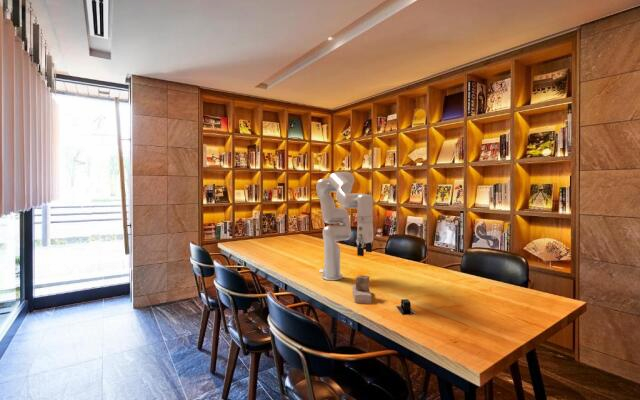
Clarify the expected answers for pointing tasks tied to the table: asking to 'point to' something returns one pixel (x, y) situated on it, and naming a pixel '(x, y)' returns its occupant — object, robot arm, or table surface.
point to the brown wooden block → (362, 283)
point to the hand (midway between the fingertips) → (364, 253)
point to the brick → (361, 295)
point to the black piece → (405, 307)
